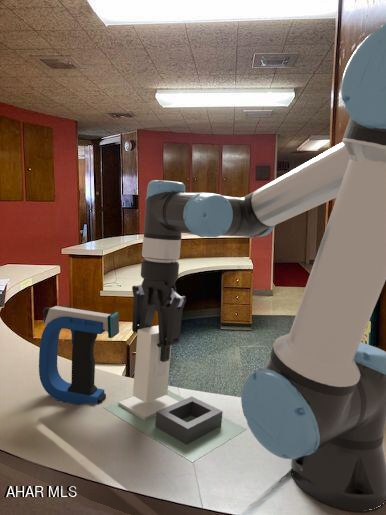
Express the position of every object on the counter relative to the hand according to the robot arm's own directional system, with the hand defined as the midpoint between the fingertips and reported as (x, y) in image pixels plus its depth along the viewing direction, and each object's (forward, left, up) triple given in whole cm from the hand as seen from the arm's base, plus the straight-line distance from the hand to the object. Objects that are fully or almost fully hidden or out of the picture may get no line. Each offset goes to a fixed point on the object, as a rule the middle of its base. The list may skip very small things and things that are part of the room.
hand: (152, 371), depth 86 cm
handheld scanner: (+13, +9, -8) cm, 18 cm away
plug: (0, 0, -5) cm, 5 cm away
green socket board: (-7, 0, -8) cm, 11 cm away
